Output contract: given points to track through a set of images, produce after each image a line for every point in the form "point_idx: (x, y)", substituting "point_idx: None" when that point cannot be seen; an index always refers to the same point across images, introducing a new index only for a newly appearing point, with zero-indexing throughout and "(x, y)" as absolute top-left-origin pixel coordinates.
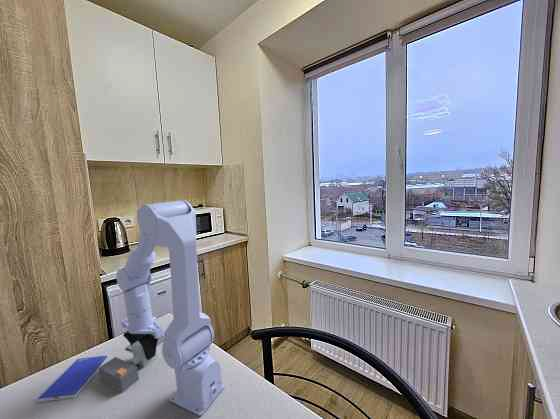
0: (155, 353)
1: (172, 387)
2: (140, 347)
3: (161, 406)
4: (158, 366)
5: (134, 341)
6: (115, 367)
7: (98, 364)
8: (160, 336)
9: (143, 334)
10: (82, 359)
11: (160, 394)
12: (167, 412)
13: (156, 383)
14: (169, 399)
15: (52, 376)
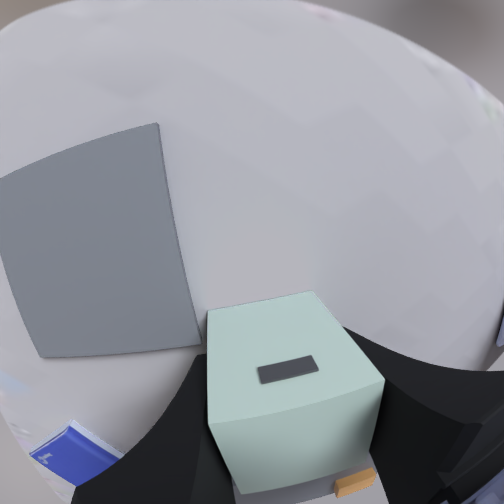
0: (346, 328)
1: (485, 321)
2: (351, 466)
3: (484, 362)
4: (383, 319)
5: (230, 491)
6: (287, 494)
7: (111, 462)
8: (94, 155)
9: (202, 453)
10: (41, 457)
11: (468, 356)
12: (498, 355)
13: (437, 355)
14: (499, 346)
15: (66, 483)
